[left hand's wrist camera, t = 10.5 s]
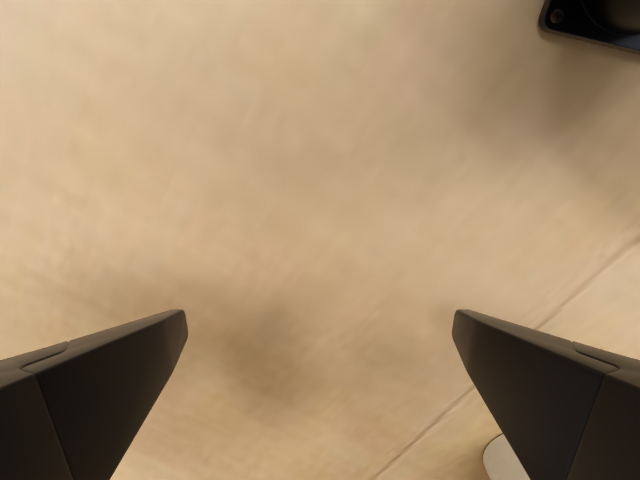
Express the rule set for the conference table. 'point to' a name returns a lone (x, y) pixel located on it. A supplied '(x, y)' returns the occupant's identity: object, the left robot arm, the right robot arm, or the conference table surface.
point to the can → (502, 461)
